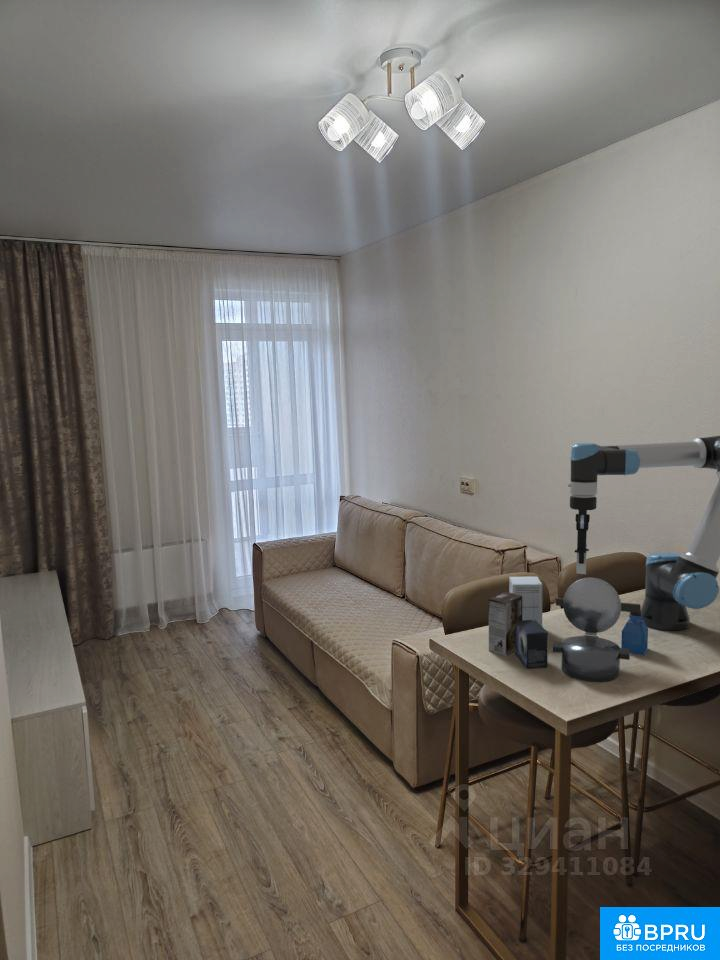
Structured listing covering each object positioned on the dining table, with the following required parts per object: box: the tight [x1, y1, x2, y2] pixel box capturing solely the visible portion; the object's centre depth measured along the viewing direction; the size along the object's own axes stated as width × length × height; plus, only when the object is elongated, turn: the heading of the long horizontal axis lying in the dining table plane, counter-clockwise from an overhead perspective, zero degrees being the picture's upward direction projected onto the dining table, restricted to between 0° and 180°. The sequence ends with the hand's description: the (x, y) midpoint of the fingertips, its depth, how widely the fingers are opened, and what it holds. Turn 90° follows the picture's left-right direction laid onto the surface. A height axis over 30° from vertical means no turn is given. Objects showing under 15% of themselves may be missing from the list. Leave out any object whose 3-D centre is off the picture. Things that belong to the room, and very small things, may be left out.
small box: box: [514, 620, 549, 670], centre depth 186 cm, size 11×6×10 cm, turn 5°
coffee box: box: [488, 591, 522, 657], centre depth 195 cm, size 9×6×16 cm
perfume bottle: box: [620, 609, 649, 657], centre depth 192 cm, size 6×6×12 cm
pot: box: [551, 634, 631, 683], centre depth 180 cm, size 20×16×7 cm
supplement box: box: [508, 576, 543, 627], centre depth 210 cm, size 10×9×17 cm
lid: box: [555, 577, 642, 636], centre depth 187 cm, size 23×16×2 cm
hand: (581, 573), depth 197 cm, fingers closed
